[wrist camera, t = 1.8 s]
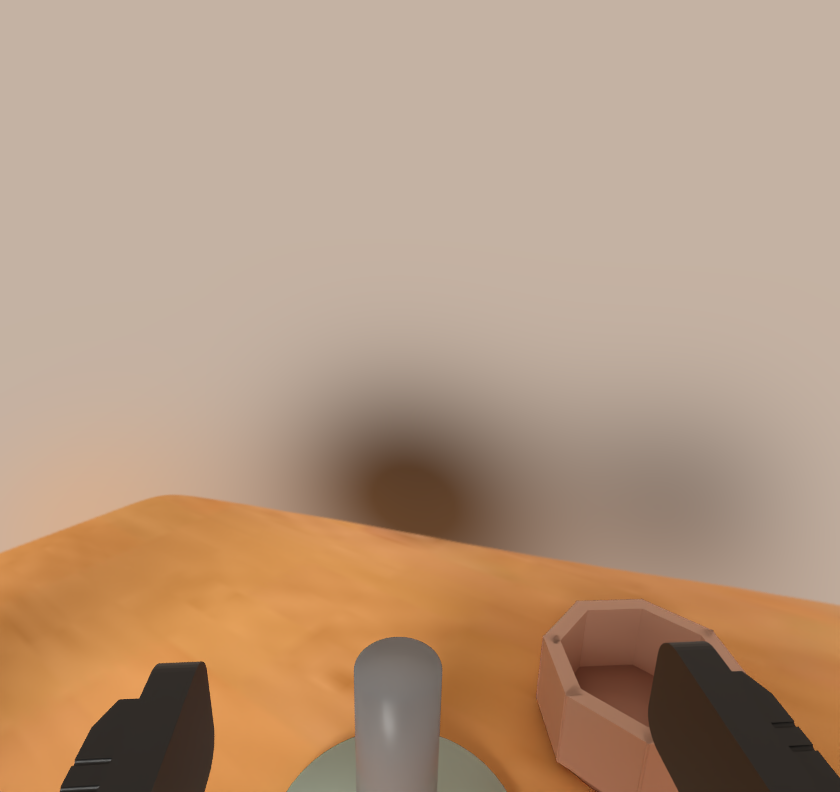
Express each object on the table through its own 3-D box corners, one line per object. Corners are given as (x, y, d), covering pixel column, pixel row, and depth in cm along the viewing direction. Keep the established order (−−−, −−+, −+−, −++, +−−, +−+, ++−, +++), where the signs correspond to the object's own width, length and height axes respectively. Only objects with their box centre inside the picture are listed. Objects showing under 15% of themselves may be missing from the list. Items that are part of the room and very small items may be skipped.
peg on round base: (238, 1039, 22) (210, 825, 18) (283, 748, 33) (272, 581, 29) (559, 1009, 23) (592, 801, 19) (496, 737, 34) (510, 574, 30)
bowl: (573, 824, 29) (585, 747, 28) (523, 665, 39) (529, 602, 37) (773, 811, 30) (796, 737, 28) (674, 658, 40) (687, 597, 38)
